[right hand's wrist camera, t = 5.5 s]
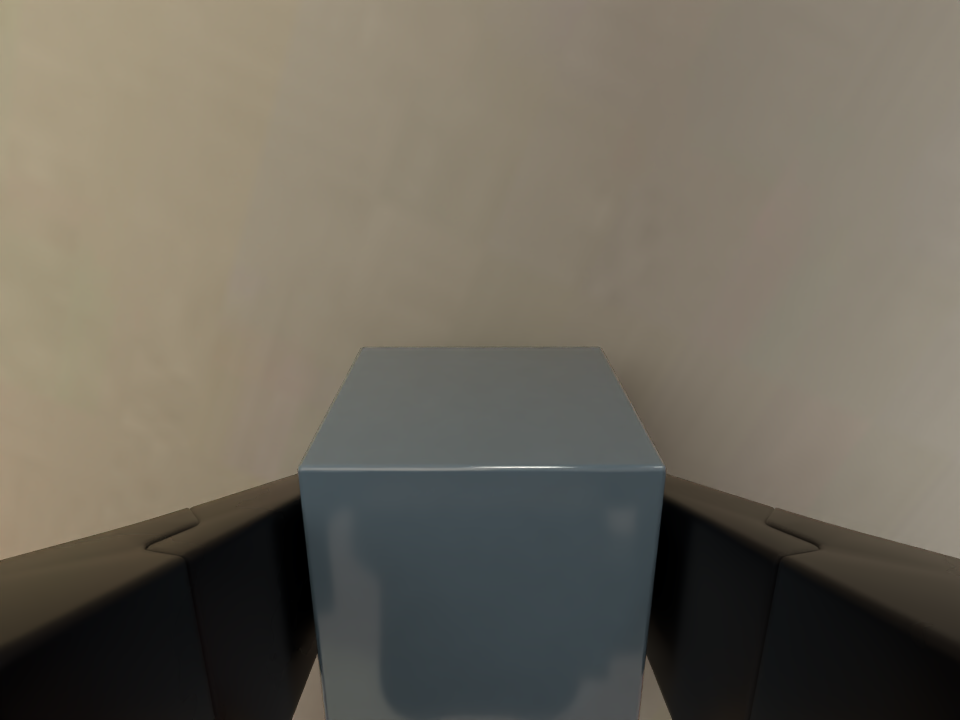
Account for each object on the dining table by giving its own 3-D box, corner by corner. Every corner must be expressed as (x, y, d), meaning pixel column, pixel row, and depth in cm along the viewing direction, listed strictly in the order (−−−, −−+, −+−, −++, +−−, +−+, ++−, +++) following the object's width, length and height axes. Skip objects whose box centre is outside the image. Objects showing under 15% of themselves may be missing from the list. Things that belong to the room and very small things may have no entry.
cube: (374, 558, 13) (326, 755, 9) (359, 345, 11) (295, 467, 7) (587, 558, 13) (637, 754, 9) (602, 345, 11) (669, 466, 7)
